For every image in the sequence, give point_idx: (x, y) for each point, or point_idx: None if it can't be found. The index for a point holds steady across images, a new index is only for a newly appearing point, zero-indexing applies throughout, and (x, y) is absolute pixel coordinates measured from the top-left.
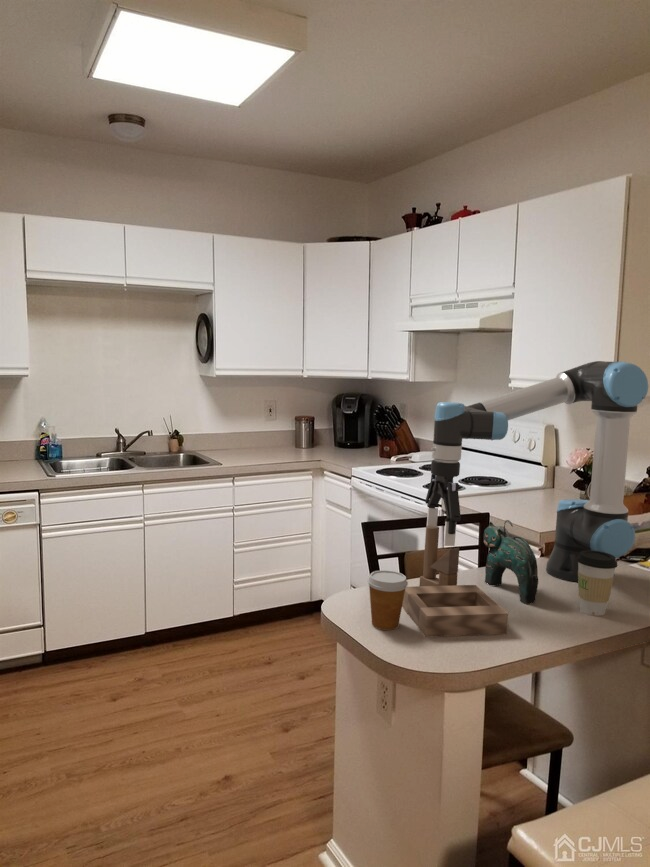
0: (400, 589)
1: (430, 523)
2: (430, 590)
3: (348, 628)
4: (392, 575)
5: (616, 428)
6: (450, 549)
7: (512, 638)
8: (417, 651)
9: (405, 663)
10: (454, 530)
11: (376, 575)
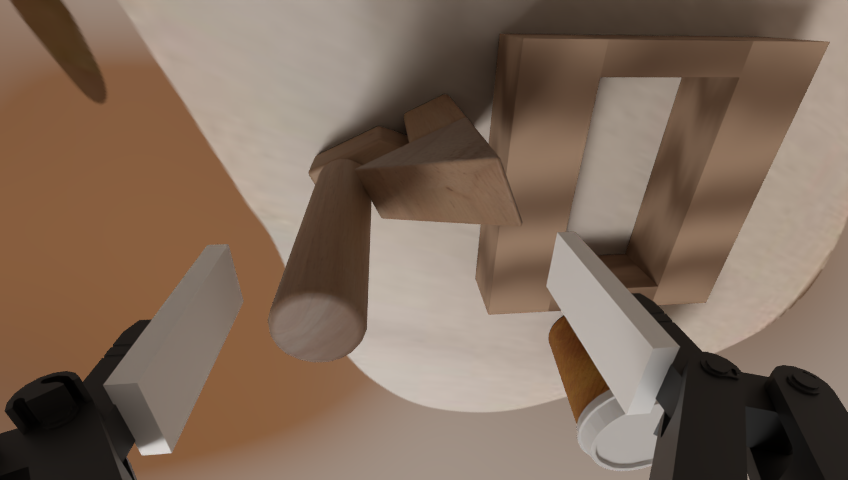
0: None
1: (220, 324)
2: (538, 244)
3: None
4: (629, 424)
5: None
6: (521, 223)
7: (793, 32)
8: (717, 300)
9: (745, 328)
10: (661, 316)
11: (613, 454)
